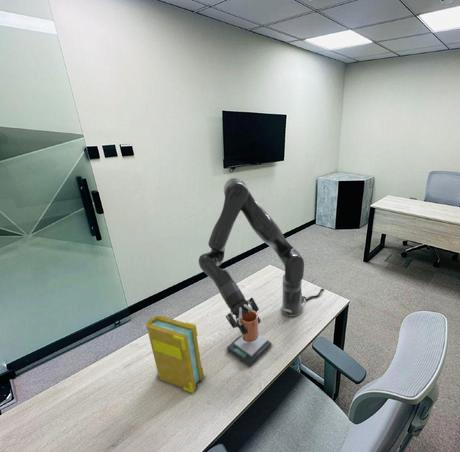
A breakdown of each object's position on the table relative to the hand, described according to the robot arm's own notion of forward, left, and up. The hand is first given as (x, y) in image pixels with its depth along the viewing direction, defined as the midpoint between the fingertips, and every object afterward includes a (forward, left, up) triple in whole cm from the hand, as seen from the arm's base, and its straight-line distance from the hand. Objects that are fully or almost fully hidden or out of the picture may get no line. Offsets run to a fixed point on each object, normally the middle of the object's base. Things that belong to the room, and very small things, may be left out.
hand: (252, 328), depth 108 cm
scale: (+1, -1, -11) cm, 11 cm away
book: (+27, -12, -11) cm, 32 cm away
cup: (0, -2, -5) cm, 5 cm away
